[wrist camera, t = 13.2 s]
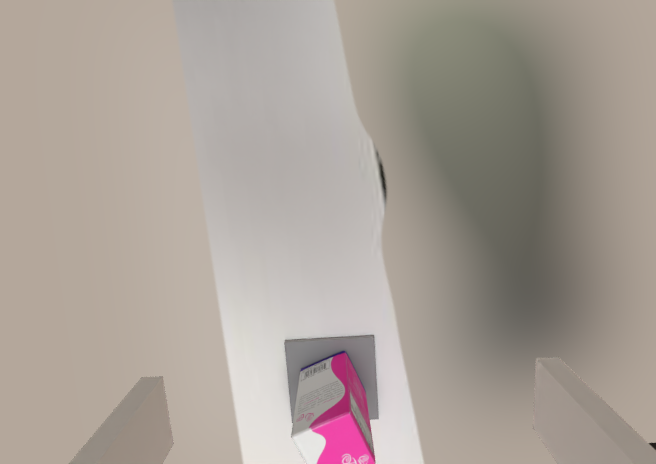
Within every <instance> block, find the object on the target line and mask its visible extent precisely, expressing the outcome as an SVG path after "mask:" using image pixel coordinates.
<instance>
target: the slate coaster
mask: <svg viewBox="0 0 656 464" xmlns="http://www.w3.org/2000/svg"><path fill="white" fill-rule="evenodd" d="M342 351H346V353H347V354H348V356H349V358H350V360H351V362H352V364H353V366H354V368H355V371H356V373H357V375H358V377H359V379H360V381H361V383H362V385H363V387H364V389H365V391H366V398H367V406H368V413H369V420H371V419H379V417H378V399H377V381H376V363H375V345H374V335H371V336H353V337H335V338H318V339H300V340H285V352H286V362H287V373H288V383H289V394H290V404H291V415H292V423H293V420H294V413H295V406H296V398H297V391H298V384H299V377H300V369H302V368H304V367H307V366H309V365H311V364H314V363H316V362H318V361H320V360H323V359H325V358H327V357H330V356H332V355H334V354H337V353H339V352H342Z"/></svg>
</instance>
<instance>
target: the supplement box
mask: <svg viewBox="0 0 656 464" xmlns="http://www.w3.org/2000/svg"><path fill="white" fill-rule="evenodd" d="M291 438H292V440H293V442H294V443H295V445H296V447H297V449H298V450H299V452H300V454H301V456H302V457H303V459H304V461H305V463H306V464H375V455H374V448H373V441H372V433H371V427H370V420H369V413H368V406H367V398H366V391H365V389H364V387H363V385H362V383H361V381H360V379H359V377H358V375H357V373H356V371H355V368H354V366H353V364H352V362H351V360H350V358H349V356H348V354H347V353H346V351H342V352H339V353H337V354H334V355H332V356H330V357H327V358H325V359H323V360H320V361H318V362H316V363H314V364H311V365H309V366H307V367H304V368H302V369H300V377H299V384H298V391H297V398H296V406H295V413H294V420H293V427H292V434H291Z"/></svg>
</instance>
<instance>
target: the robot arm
mask: <svg viewBox="0 0 656 464" xmlns="http://www.w3.org/2000/svg"><path fill="white" fill-rule="evenodd" d="M534 396H535V397H534V420H533V421H534V422H533V429H534V430H535V432H536V433H537V435H538V436H539V438H540V439H541V440H542V442H543V443H544V445H545V446H546V448H547V449H548V451H549V452H550V453H551V455H552V456H553V458H554V459H555V461H556V462H557V464H656V443H647V441H645V440H644V439H643V438H642V437H641V436H640V435H639V434H638V433H637V432H636V431H635V430H634V429H633V428H632V427H631V426H630V425H629V424H628V423H627V422H626V421H624V419H623V418H622V417H620V416H619V415H618V414H617V413H616V412H615V411H614V410H613V409H612V408H611V407H610V406H609V405H608V404H607V403H606V402H605V401H604V400H603V399H602V398H601V397H600V396H599V395H597V394H596V393H595V392H594V391H593V390H592V389H591V388H590V387H589V386H588V385H587V384H586V383H585V382H584V381H583V380H582V379H581V378H579V376H578V375H577V374H576V373H574V372H573V371H572V370H571V369H570V368H569V367H568V366H567V365H566V364H565V363H564V362H563V361H562V360H561V359H560V358H559V357H551V358H536V370H535V395H534ZM173 444H174V443H173V437H172V431H171V425H170V418H169V412H168V406H167V400H166V395H165V387H164V381H163V377H162V376H159V377H142V378H141V379H140V380H139V381H138V382H137V383H136V385H135V386H134V387H133V388H132V390H131V391H130V392H129V393H128V394H127V395H126V396H125V398H124V399H123V400H122V401H121V402H120V404H119V405H118V406H117V407H116V408H115V409H114V411H113V412H112V413H111V414H110V416H109V417H108V418H107V419H106V420H105V421H104V423H103V424H102V425H101V426H100V427H99V428H98V430H97V431H96V432H95V433H94V435H93V436H92V437H91V438H90V439H89V440H88V442H87V443H86V444H85V445H84V446H83V448H82V449H81V450H80V451H79V452H78V453H77V454H76V456H75V457H74V458H73V459H72V460H71V462H70V463H69V464H163V462H164V460H165V459H166V457H167V455H168V453H169V451H170V449H171V448H172V446H173Z"/></svg>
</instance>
